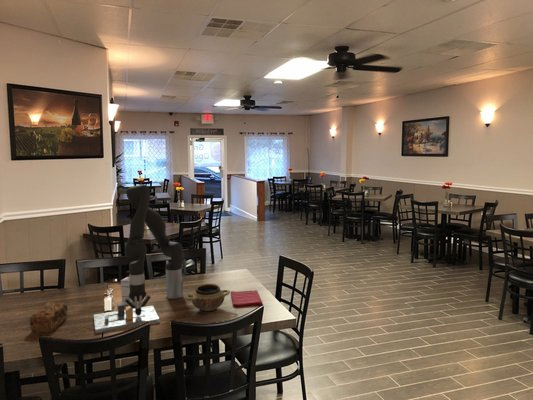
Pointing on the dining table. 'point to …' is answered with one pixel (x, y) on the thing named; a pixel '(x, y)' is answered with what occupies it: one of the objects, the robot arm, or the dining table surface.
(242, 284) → the dining table surface
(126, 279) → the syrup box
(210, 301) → the ceramic bowl
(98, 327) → the console panel
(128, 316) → the fader knob
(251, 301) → the dish towel
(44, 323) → the bread
